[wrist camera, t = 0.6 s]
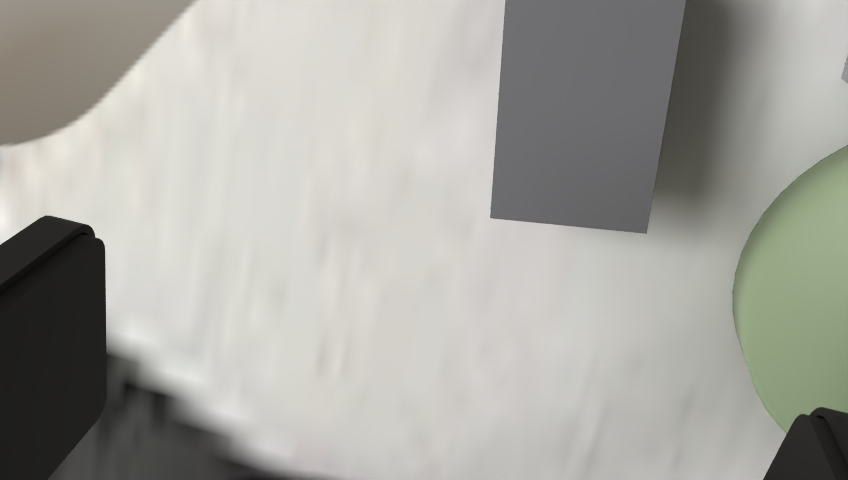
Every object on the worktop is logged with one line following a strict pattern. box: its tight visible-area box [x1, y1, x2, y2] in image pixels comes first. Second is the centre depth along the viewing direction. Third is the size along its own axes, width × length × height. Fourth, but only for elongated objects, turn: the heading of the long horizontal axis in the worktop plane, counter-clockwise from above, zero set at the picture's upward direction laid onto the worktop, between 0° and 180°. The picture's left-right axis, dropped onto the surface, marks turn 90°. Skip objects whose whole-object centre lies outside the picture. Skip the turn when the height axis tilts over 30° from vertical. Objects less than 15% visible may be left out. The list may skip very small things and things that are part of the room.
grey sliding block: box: [490, 0, 686, 234], centre depth 25 cm, size 6×10×6 cm, turn 179°
